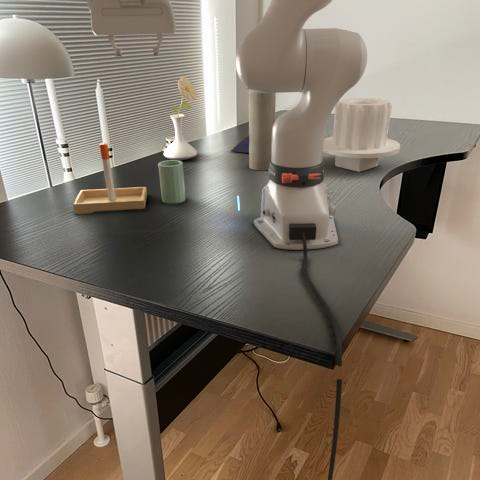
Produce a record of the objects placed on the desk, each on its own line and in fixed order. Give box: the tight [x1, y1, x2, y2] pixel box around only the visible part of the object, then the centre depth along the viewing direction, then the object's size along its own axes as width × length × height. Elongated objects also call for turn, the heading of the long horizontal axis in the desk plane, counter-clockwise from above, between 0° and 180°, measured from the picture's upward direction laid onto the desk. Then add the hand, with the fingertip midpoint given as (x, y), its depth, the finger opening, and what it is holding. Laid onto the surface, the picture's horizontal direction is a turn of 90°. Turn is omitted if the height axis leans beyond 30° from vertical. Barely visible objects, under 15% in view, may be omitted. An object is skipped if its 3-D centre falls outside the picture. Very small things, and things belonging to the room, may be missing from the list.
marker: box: [98, 142, 116, 202], centre depth 121 cm, size 2×2×14 cm
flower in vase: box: [163, 76, 198, 161], centre depth 157 cm, size 13×11×25 cm
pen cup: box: [157, 159, 187, 204], centre depth 124 cm, size 6×6×10 cm
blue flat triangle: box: [230, 135, 249, 154], centre depth 176 cm, size 24×30×4 cm
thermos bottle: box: [248, 89, 277, 171], centre depth 145 cm, size 8×8×28 cm
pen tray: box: [72, 186, 148, 215], centre depth 124 cm, size 11×17×3 cm, turn 97°
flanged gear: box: [323, 97, 401, 173], centre depth 147 cm, size 25×25×19 cm
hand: (137, 56), depth 120 cm, fingers open, 8 cm apart
